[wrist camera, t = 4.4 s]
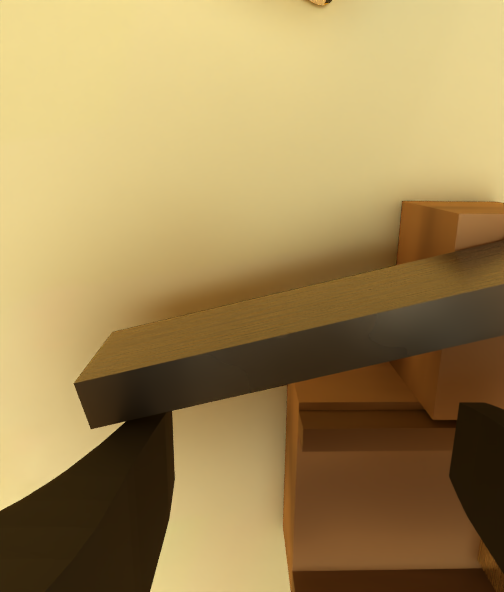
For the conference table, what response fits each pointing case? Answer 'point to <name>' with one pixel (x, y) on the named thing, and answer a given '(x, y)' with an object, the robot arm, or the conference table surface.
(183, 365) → the lever
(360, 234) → the conference table surface
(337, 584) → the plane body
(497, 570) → the wooden block
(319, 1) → the medicine bottle
